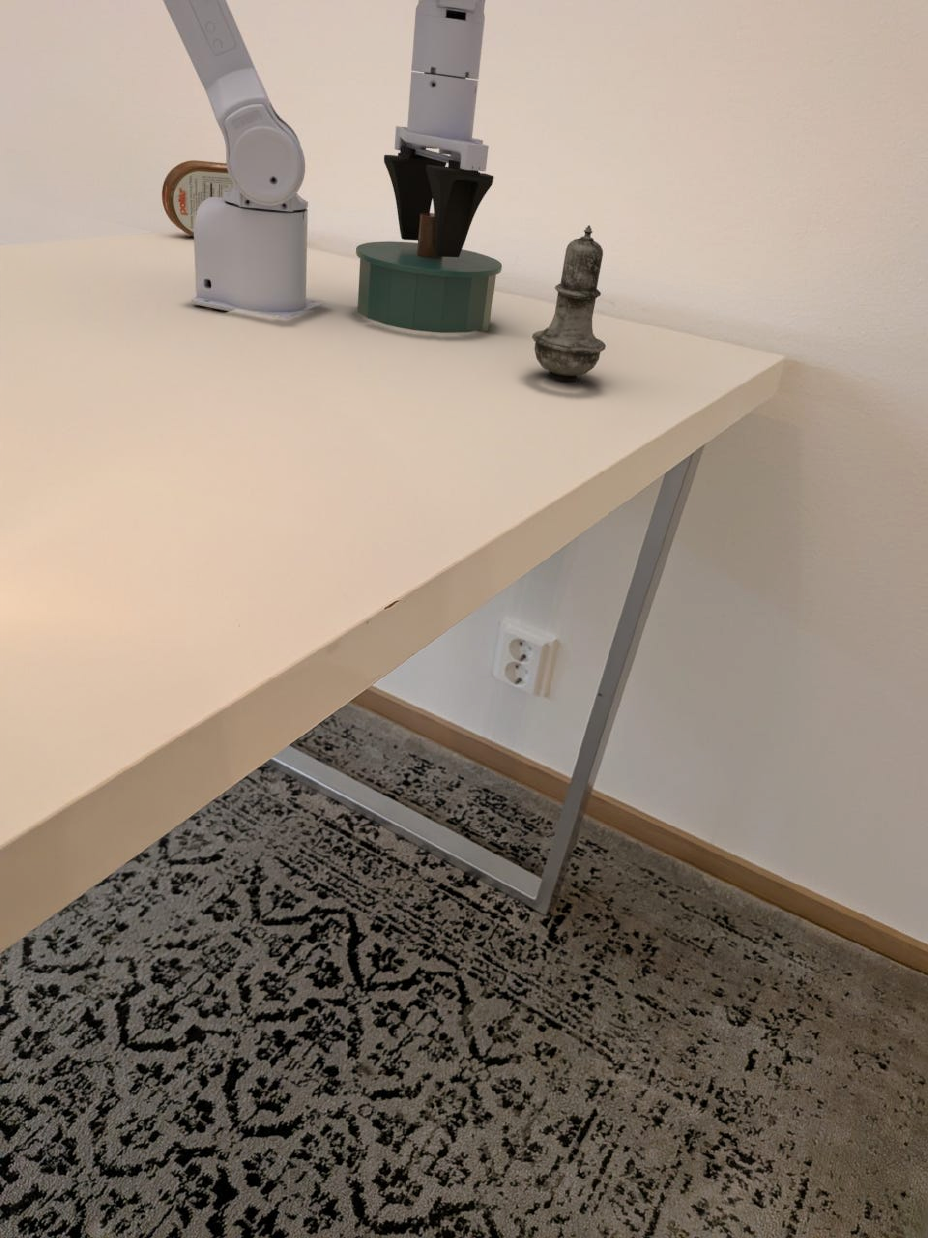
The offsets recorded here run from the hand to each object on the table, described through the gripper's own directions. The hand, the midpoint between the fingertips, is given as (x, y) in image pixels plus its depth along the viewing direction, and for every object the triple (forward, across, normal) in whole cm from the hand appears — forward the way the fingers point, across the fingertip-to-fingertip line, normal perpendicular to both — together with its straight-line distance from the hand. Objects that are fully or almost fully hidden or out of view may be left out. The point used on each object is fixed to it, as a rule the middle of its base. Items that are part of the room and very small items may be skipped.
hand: (429, 247), depth 81 cm
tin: (+7, +40, +8) cm, 41 cm away
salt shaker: (+7, -20, -3) cm, 21 cm away
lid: (+1, 0, 0) cm, 1 cm away
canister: (+7, 0, 0) cm, 7 cm away
